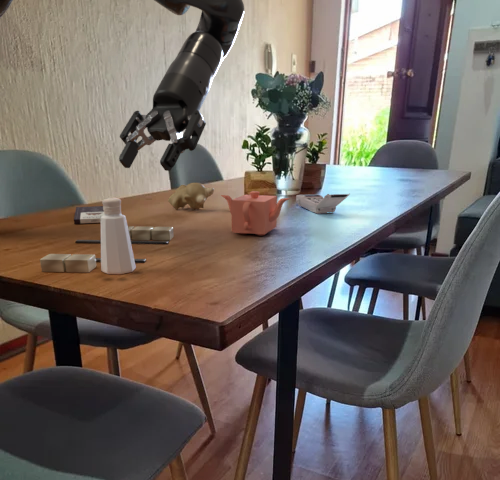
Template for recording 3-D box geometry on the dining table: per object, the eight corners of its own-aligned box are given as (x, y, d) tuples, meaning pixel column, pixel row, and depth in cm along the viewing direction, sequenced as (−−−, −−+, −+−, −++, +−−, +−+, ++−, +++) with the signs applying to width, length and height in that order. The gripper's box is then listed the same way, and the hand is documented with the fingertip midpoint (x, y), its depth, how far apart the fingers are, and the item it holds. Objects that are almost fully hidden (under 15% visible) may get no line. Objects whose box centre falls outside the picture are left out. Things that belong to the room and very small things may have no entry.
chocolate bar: (112, 205, 133) (114, 217, 117) (112, 209, 133) (115, 221, 117) (76, 207, 131) (73, 219, 115) (76, 210, 131) (74, 223, 115)
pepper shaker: (116, 263, 84) (108, 195, 80) (143, 267, 82) (137, 197, 78) (93, 272, 80) (84, 200, 75) (121, 276, 77) (114, 202, 73)
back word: (75, 243, 98) (74, 232, 97) (88, 235, 104) (86, 225, 104) (167, 244, 97) (166, 234, 96) (174, 236, 103) (174, 226, 103)
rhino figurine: (184, 183, 137) (212, 173, 128) (196, 207, 140) (224, 199, 131) (162, 195, 132) (189, 185, 124) (175, 220, 135) (202, 212, 126)
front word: (41, 271, 80) (39, 259, 79) (60, 259, 87) (58, 248, 86) (134, 273, 79) (133, 260, 78) (146, 261, 86) (145, 249, 85)
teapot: (231, 224, 115) (231, 186, 111) (296, 229, 110) (297, 189, 107) (210, 235, 104) (209, 193, 101) (280, 240, 100) (281, 197, 96)
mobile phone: (328, 194, 118) (292, 181, 140) (326, 219, 120) (291, 203, 142) (351, 193, 119) (313, 181, 141) (349, 219, 122) (311, 202, 144)
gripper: (139, 72, 86) (97, 147, 81) (209, 68, 79) (167, 150, 75) (162, 107, 92) (123, 179, 88) (228, 106, 85) (190, 184, 81)
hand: (143, 165), depth 81 cm, fingers open, 8 cm apart
